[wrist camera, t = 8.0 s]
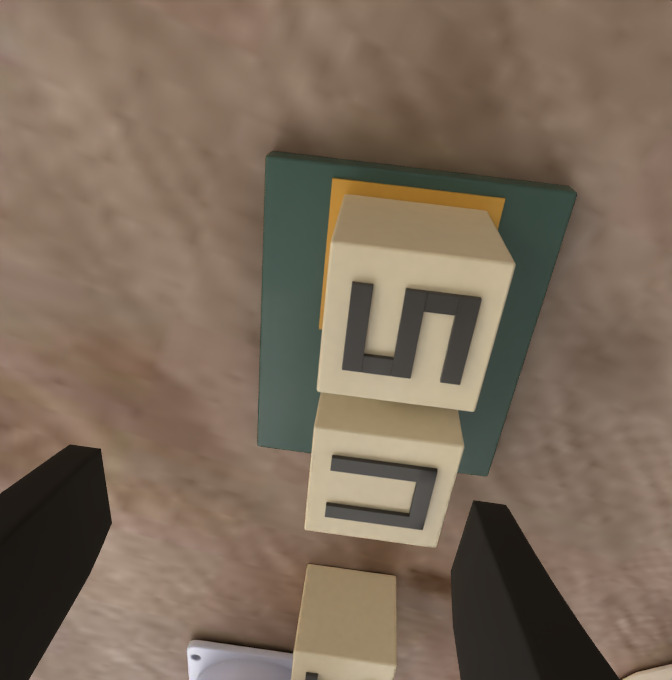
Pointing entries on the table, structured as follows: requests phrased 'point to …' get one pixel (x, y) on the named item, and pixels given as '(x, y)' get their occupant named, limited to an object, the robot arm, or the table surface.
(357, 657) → the block
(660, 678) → the inkwell
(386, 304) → the block
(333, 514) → the U block
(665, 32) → the table surface
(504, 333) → the green board
